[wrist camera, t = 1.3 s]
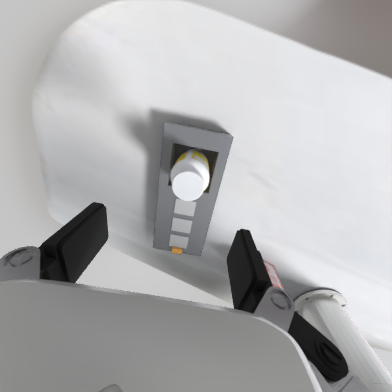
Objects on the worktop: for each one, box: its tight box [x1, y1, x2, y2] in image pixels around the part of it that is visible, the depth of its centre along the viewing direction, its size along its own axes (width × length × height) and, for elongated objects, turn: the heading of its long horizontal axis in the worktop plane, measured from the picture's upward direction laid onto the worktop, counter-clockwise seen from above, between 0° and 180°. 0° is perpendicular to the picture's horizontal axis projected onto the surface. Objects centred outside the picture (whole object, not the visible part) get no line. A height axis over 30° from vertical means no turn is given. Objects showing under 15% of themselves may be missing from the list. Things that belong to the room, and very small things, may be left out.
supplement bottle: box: [171, 149, 209, 201], centre depth 24 cm, size 5×5×10 cm
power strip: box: [153, 122, 233, 256], centre depth 30 cm, size 24×10×4 cm, turn 169°
